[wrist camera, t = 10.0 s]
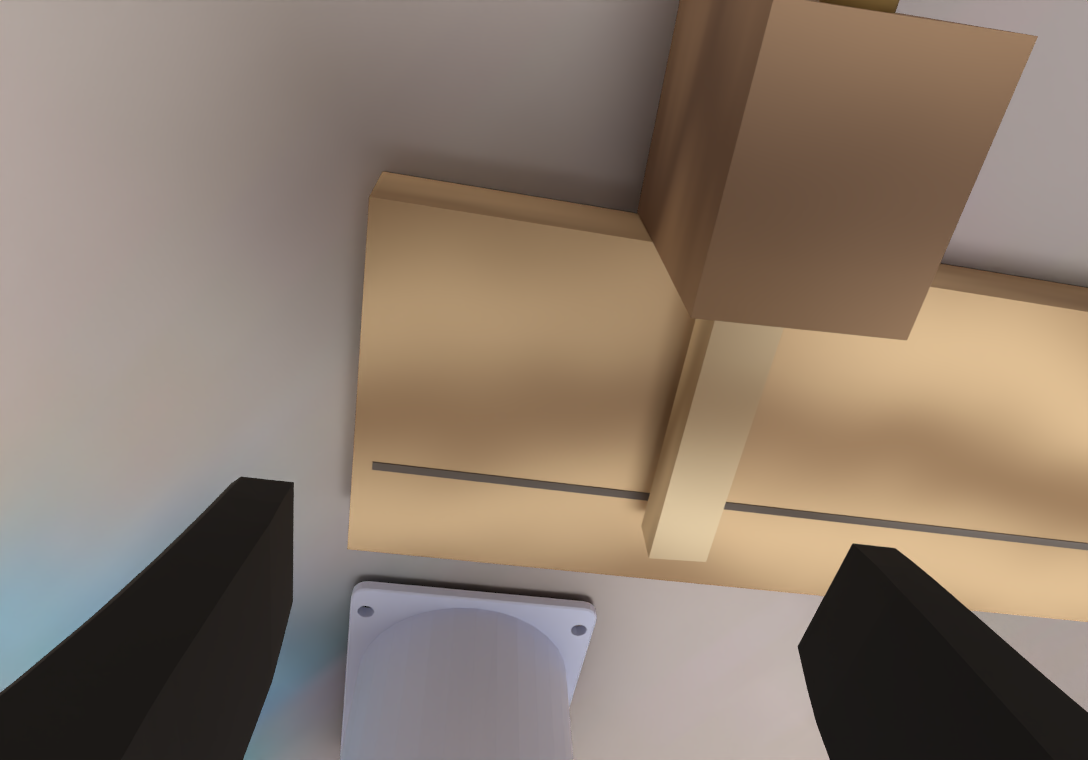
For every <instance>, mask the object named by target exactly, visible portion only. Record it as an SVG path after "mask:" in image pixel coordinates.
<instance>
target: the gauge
mask: <svg viewBox="0 0 1088 760" xmlns="http://www.w3.org/2000/svg"><path fill="white" fill-rule="evenodd" d="M898 3H899V0H680V2H679V7H678V12H677V17H676V22H675V27H674V32H673V37H672V42H671V47H670V51H669V56H668V61H667V66H666V71H665V76H664V81H663V86H662V91H661V96H660V101H659V106H658V111H657V116H656V121H655V126H654V130H653V135H652V140H651V145H650V150H649V155H648V160H647V165H646V170H645V175H644V180H643V185H642V190H641V195H640V200H639V205H638V210H637V212H638V214H639V216H640V218H641V220H642V222H643V224H644V226H645V228H646V230H647V232H648V234H649V236H650V238H651V240H652V242H653V244H654V246H655V248H656V250H657V252H658V254H659V256H660V258H661V260H662V262H663V264H664V266H665V268H666V270H667V272H668V274H669V276H670V278H671V280H672V282H673V284H674V286H675V288H676V290H677V292H678V294H679V296H680V298H681V300H682V302H683V304H684V306H685V308H686V310H687V312H688V314H689V315H690V317H691V318H694V319H696V320H695V324H694V328H693V331H692V335H691V339H690V343H689V347H688V350H687V354H686V358H685V362H684V366H683V369H682V373H681V377H680V381H679V385H678V388H677V392H676V396H675V400H674V404H673V407H672V411H671V415H670V419H669V423H668V426H667V430H666V434H665V438H664V442H663V445H662V449H661V453H660V457H659V461H658V464H657V468H656V472H655V476H654V480H653V483H652V487H651V491H650V495H649V499H648V502H647V506H646V510H645V514H644V518H643V521H642V525H641V527H642V531H643V536H644V540H645V544H646V548H647V553H648V557H649V558H653V559H668V560H683V561H698V562H706V561H707V558H708V555H709V552H710V549H711V546H712V543H713V539H714V536H715V533H716V530H717V527H718V524H719V521H720V518H721V515H722V512H723V509H724V506H725V503H726V500H727V497H728V494H729V491H730V488H731V485H732V482H733V479H734V476H735V473H736V470H737V467H738V464H739V461H740V458H741V455H742V452H743V449H744V446H745V443H746V440H747V437H748V434H749V431H750V428H751V425H752V422H753V419H754V416H755V413H756V410H757V407H758V404H759V401H760V398H761V395H762V392H763V389H764V386H765V383H766V380H767V377H768V374H769V371H770V368H771V365H772V362H773V359H774V356H775V353H776V350H777V347H778V344H779V341H780V338H781V335H782V332H783V329H784V328H791V329H800V330H810V331H820V332H829V333H839V334H849V335H858V336H868V337H878V338H887V339H897V340H907V339H908V337H909V335H910V332H911V330H912V328H913V325H914V323H915V321H916V318H917V316H918V314H919V311H920V309H921V307H922V304H923V302H924V300H925V297H926V295H927V293H928V290H929V288H930V286H931V283H932V281H933V279H934V276H935V274H936V272H937V270H938V267H939V265H940V263H941V260H942V258H943V256H944V253H945V251H946V249H947V246H948V244H949V242H950V239H951V237H952V235H953V232H954V230H955V228H956V225H957V223H958V221H959V218H960V216H961V214H962V211H963V209H964V207H965V204H966V202H967V200H968V197H969V195H970V193H971V191H972V188H973V186H974V184H975V181H976V179H977V177H978V174H979V172H980V170H981V167H982V165H983V163H984V160H985V158H986V156H987V153H988V151H989V149H990V146H991V144H992V142H993V139H994V137H995V135H996V132H997V130H998V128H999V125H1000V123H1001V121H1002V118H1003V116H1004V114H1005V112H1006V109H1007V107H1008V105H1009V102H1010V100H1011V98H1012V95H1013V93H1014V91H1015V88H1016V86H1017V84H1018V81H1019V79H1020V77H1021V74H1022V72H1023V70H1024V67H1025V65H1026V63H1027V60H1028V58H1029V56H1030V53H1031V51H1032V49H1033V46H1034V44H1035V42H1036V39H1037V37H1038V36H1033V35H1027V34H1021V33H1015V32H1009V31H1003V30H996V29H990V28H984V27H978V26H972V25H966V24H960V23H954V22H948V21H942V20H936V19H930V18H924V17H918V16H912V15H906V14H900V13H895V12H896V9H897V6H898Z"/></svg>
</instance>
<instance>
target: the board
mask: <svg viewBox="0 0 1088 760" xmlns="http://www.w3.org/2000/svg"><path fill="white" fill-rule="evenodd" d="M695 320H696V319H694V318H691V317H690V315H689V314H688V312H687V310H686V308H685V306H684V304H683V302H682V300H681V298H680V296H679V294H678V292H677V290H676V288H675V286H674V284H673V282H672V280H671V278H670V276H669V274H668V272H667V270H666V268H665V266H664V264H663V262H662V260H661V258H660V256H659V254H658V252H657V250H656V248H655V246H654V244H653V242H652V240H651V238H650V236H649V234H648V232H647V230H646V228H645V226H644V224H643V222H642V220H641V218H640V216H639V214H637V213H631V212H625V211H619V210H613V209H607V208H601V207H595V206H589V205H583V204H577V203H571V202H565V201H559V200H553V199H546V198H540V197H534V196H528V195H522V194H516V193H510V192H504V191H498V190H492V189H486V188H480V187H474V186H468V185H462V184H456V183H450V182H444V181H437V180H431V179H425V178H419V177H413V176H407V175H401V174H395V173H389V172H382V174H381V176H380V177H379V179H378V181H377V183H376V185H375V187H374V188H373V190H372V192H371V194H370V196H369V205H368V222H367V238H366V254H365V270H364V287H363V303H362V319H361V336H360V352H359V368H358V385H357V401H356V417H355V433H354V450H353V466H352V482H351V499H350V515H349V531H348V548H347V549H351V550H361V551H371V552H381V553H392V554H402V555H412V556H422V557H432V558H442V559H453V560H463V561H473V562H483V563H493V564H504V565H514V566H524V567H534V568H544V569H554V570H565V571H575V572H585V573H595V574H605V575H615V576H626V577H636V578H646V579H656V580H666V581H676V582H687V583H697V584H707V585H717V586H727V587H737V588H748V589H758V590H768V591H778V592H788V593H799V594H809V595H819V596H825V594H826V592H827V590H828V589H829V587H830V585H831V583H832V581H833V579H834V577H835V575H836V574H837V572H838V570H839V568H840V566H841V564H842V562H843V560H844V558H845V557H846V555H847V553H848V551H849V549H850V547H851V545H852V543H854V544H863V545H872V546H881V547H891V548H896V549H897V550H898V551H900V552H901V553H902V554H904V555H905V556H906V557H907V558H909V559H910V560H911V561H913V562H914V563H915V564H916V565H917V566H919V567H920V568H921V569H922V570H924V571H925V572H926V573H927V574H928V575H930V576H931V577H932V578H933V579H934V580H935V581H937V582H938V583H939V584H940V585H941V586H942V587H944V588H945V589H946V590H947V591H948V592H949V593H951V594H952V595H953V596H954V597H955V598H956V599H957V600H959V601H960V602H961V603H962V604H963V605H964V606H965V607H967V608H968V609H969V610H971V611H982V612H992V613H1002V614H1012V615H1022V616H1032V617H1043V618H1053V619H1063V620H1073V621H1083V622H1088V288H1085V287H1079V286H1073V285H1067V284H1061V283H1055V282H1049V281H1043V280H1037V279H1031V278H1025V277H1019V276H1013V275H1007V274H1001V273H994V272H988V271H982V270H976V269H970V268H964V267H958V266H952V265H946V264H940V265H939V267H938V270H937V272H936V274H935V276H934V279H933V281H932V283H931V286H930V288H929V290H928V293H927V295H926V297H925V300H924V302H923V304H922V307H921V309H920V311H919V314H918V316H917V318H916V321H915V323H914V325H913V328H912V330H911V332H910V335H909V337H908V339H907V340H897V339H887V338H878V337H868V336H858V335H849V334H839V333H829V332H820V331H810V330H800V329H791V328H784V329H783V332H782V335H781V338H780V341H779V344H778V347H777V350H776V353H775V356H774V359H773V362H772V365H771V368H770V371H769V374H768V377H767V380H766V383H765V386H764V389H763V392H762V395H761V398H760V401H759V404H758V407H757V410H756V413H755V416H754V419H753V422H752V425H751V428H750V431H749V434H748V437H747V440H746V443H745V446H744V449H743V452H742V455H741V458H740V461H739V464H738V467H737V470H736V473H735V476H734V479H733V482H732V485H731V488H730V491H729V494H728V497H727V500H726V503H725V506H724V509H723V512H722V515H721V518H720V521H719V524H718V527H717V530H716V533H715V536H714V539H713V543H712V546H711V549H710V552H709V555H708V558H707V561H706V562H698V561H683V560H668V559H653V558H649V557H648V553H647V548H646V544H645V540H644V536H643V531H642V527H641V525H642V521H643V518H644V514H645V510H646V506H647V502H648V499H649V495H650V491H651V487H652V483H653V480H654V476H655V472H656V468H657V464H658V461H659V457H660V453H661V449H662V445H663V442H664V438H665V434H666V430H667V426H668V423H669V419H670V415H671V411H672V407H673V404H674V400H675V396H676V392H677V388H678V385H679V381H680V377H681V373H682V369H683V366H684V362H685V358H686V354H687V350H688V347H689V343H690V339H691V335H692V331H693V328H694V324H695Z"/></svg>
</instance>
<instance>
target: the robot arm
mask: <svg viewBox="0 0 1088 760" xmlns="http://www.w3.org/2000/svg"><path fill="white" fill-rule="evenodd" d="M293 501H294V482H284V481H275V480H266V479H257V478H248V477H240V478H239V479H237V480H236V481H234V482H233V483H231V484H230V485H229V486H228V487H227V488H226V489H225V490H224V492H223V493H222V494H221V495H220V496H219V497H218V498H217V499H216V500H215V501H214V502H213V503H212V504H211V505H210V506H209V507H208V508H207V509H206V510H205V511H204V512H203V513H202V514H201V515H200V516H199V517H198V518H197V519H196V520H195V521H194V522H193V523H192V524H191V525H190V526H189V527H188V528H187V529H186V530H185V531H184V532H183V533H182V534H181V535H180V536H179V537H178V538H177V539H176V540H175V541H173V542H172V543H171V544H170V545H169V546H168V547H167V548H166V549H165V550H164V551H163V552H162V553H161V554H160V555H159V556H158V557H157V558H156V559H155V560H154V561H153V562H151V563H150V564H149V565H148V566H147V567H146V568H145V569H144V570H143V571H142V572H141V573H139V574H138V575H137V576H136V577H135V578H134V579H133V580H132V581H131V582H130V583H129V584H127V585H126V586H125V587H124V588H123V589H122V590H121V591H120V592H119V593H118V594H116V595H115V596H114V597H113V598H112V599H111V600H110V601H109V602H108V603H107V604H106V605H104V606H103V607H102V608H101V609H100V610H99V611H98V612H97V613H95V614H94V615H93V616H92V617H91V618H90V619H89V620H87V621H86V622H85V623H84V624H83V625H82V626H80V627H79V628H78V629H77V630H76V631H74V632H73V633H72V634H71V635H70V636H68V637H67V638H66V639H65V640H64V641H62V642H61V643H60V644H59V645H58V646H56V647H55V648H54V649H53V650H52V651H50V652H49V653H48V654H47V655H46V656H44V657H43V658H42V659H41V660H40V661H38V662H37V663H36V664H35V665H34V666H32V667H31V668H30V669H29V670H28V671H26V672H25V673H24V674H23V675H22V676H20V677H19V678H18V679H17V680H16V681H14V682H13V683H12V684H11V685H9V686H8V687H7V688H6V689H4V690H3V691H2V692H0V760H243V758H244V755H245V752H246V750H247V747H248V744H249V742H250V739H251V737H252V734H253V731H254V729H255V726H256V723H257V721H258V718H259V715H260V713H261V710H262V707H263V705H264V702H265V699H266V697H267V694H268V691H269V688H270V686H271V683H272V679H273V676H274V672H275V668H276V665H277V661H278V657H279V653H280V650H281V646H282V642H283V638H284V634H285V630H286V626H287V622H288V618H289V614H290V610H291V606H292V602H293ZM363 606H369V607H371V608H366V607H363ZM596 617H597V616H596V609H595V607H594V605H592V604H591V603H589V602H585V601H576V600H566V599H555V598H544V597H533V596H523V595H512V594H501V593H490V592H480V591H469V590H458V589H447V588H437V587H426V586H415V585H405V584H394V583H383V582H372V581H364V582H361V583H358V584H357V585H356V586H354V588H353V591H352V595H351V603H350V618H349V633H348V648H347V662H346V677H345V692H344V707H343V722H342V737H341V751H340V760H574V758H573V747H572V735H571V723H570V711H569V707H570V704H571V701H572V697H573V694H574V691H575V688H576V684H577V681H578V678H579V675H580V672H581V668H582V665H583V662H584V659H585V655H586V652H587V649H588V646H589V642H590V639H591V636H592V633H593V630H594V626H595V623H596ZM576 625H581V626H576ZM798 650H799V654H800V659H801V663H802V667H803V672H804V676H805V681H806V685H807V689H808V693H809V697H810V701H811V704H812V708H813V712H814V716H815V720H816V723H817V726H818V729H819V731H820V734H821V737H822V740H823V742H824V745H825V748H826V750H827V753H828V756H829V758H830V760H1088V712H1087V711H1085V710H1084V709H1083V708H1082V707H1081V706H1079V705H1078V704H1077V703H1076V702H1075V701H1074V700H1072V699H1071V698H1070V697H1069V696H1068V695H1066V694H1065V693H1064V692H1063V691H1062V690H1061V689H1059V688H1058V687H1057V686H1056V685H1055V684H1054V683H1052V682H1051V681H1050V680H1049V679H1048V678H1047V677H1045V676H1044V675H1043V674H1042V673H1041V672H1040V671H1038V670H1037V669H1036V668H1035V667H1034V666H1033V665H1032V664H1030V663H1029V662H1028V661H1027V660H1026V659H1025V658H1023V657H1022V656H1021V655H1020V654H1019V653H1018V652H1017V651H1016V650H1014V649H1013V648H1012V647H1011V646H1010V645H1009V644H1008V643H1006V642H1005V641H1004V640H1003V639H1002V638H1001V637H1000V636H998V635H997V634H996V633H995V632H994V631H993V630H992V629H990V628H989V627H988V626H987V625H986V624H985V623H984V622H982V621H981V620H980V619H979V618H978V617H977V616H976V615H975V614H973V613H972V612H971V611H970V610H969V609H968V608H967V607H965V606H964V605H963V604H962V603H961V602H960V601H959V600H957V599H956V598H955V597H954V596H953V595H952V594H951V593H949V592H948V591H947V590H946V589H945V588H944V587H942V586H941V585H940V584H939V583H938V582H937V581H935V580H934V579H933V578H932V577H931V576H930V575H928V574H927V573H926V572H925V571H924V570H922V569H921V568H920V567H919V566H917V565H916V564H915V563H914V562H913V561H911V560H910V559H909V558H907V557H906V556H905V555H904V554H902V553H901V552H900V551H898V550H897V549H896V548H891V547H881V546H872V545H863V544H854V543H852V545H851V547H850V549H849V551H848V553H847V555H846V557H845V558H844V560H843V562H842V564H841V566H840V568H839V570H838V572H837V574H836V575H835V577H834V579H833V581H832V583H831V585H830V587H829V589H828V590H827V592H826V594H825V596H824V598H823V600H822V602H821V604H820V606H819V607H818V609H817V611H816V613H815V615H814V617H813V619H812V621H811V622H810V624H809V626H808V628H807V630H806V632H805V634H804V636H803V638H802V639H801V641H800V643H799V645H798Z"/></svg>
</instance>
